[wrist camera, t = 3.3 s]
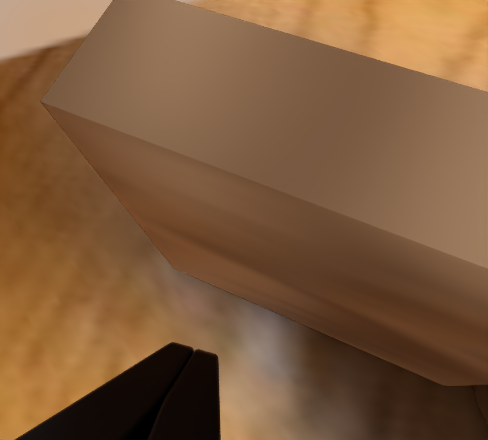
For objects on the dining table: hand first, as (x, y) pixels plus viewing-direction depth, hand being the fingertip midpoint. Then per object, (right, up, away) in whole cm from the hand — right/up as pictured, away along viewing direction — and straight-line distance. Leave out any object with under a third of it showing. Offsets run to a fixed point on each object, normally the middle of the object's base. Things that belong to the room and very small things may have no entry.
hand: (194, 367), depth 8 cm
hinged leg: (+3, 0, +7) cm, 7 cm away
